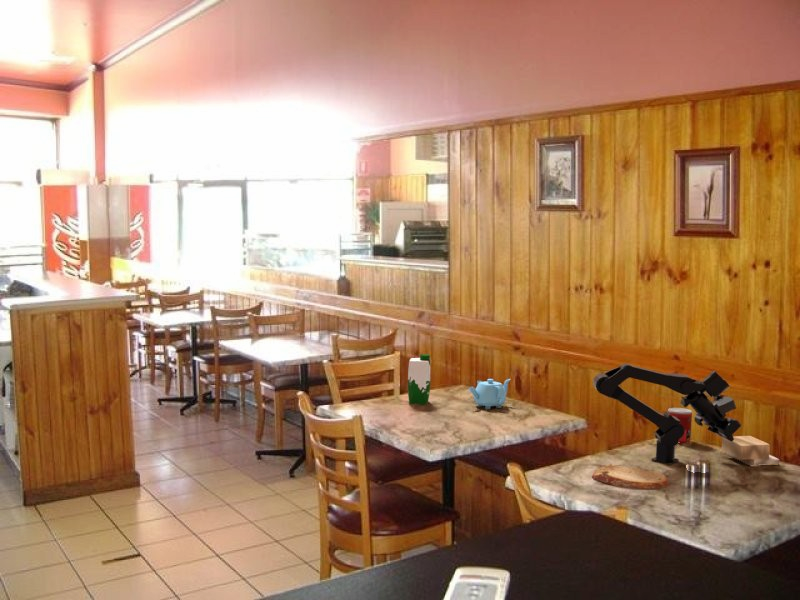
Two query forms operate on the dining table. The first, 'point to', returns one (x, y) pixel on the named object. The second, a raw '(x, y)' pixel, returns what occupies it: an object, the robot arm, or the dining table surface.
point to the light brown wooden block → (746, 448)
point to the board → (759, 460)
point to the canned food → (683, 421)
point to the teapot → (490, 393)
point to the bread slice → (629, 477)
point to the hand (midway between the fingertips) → (732, 440)
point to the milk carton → (419, 379)
